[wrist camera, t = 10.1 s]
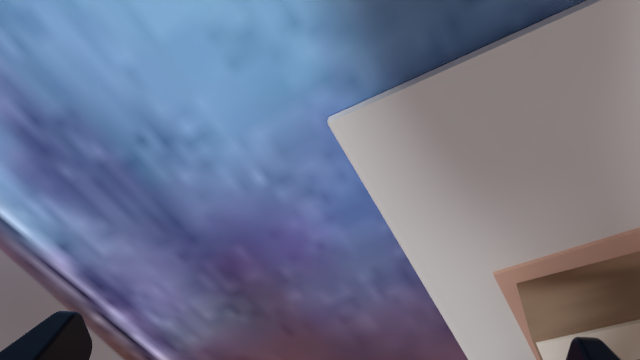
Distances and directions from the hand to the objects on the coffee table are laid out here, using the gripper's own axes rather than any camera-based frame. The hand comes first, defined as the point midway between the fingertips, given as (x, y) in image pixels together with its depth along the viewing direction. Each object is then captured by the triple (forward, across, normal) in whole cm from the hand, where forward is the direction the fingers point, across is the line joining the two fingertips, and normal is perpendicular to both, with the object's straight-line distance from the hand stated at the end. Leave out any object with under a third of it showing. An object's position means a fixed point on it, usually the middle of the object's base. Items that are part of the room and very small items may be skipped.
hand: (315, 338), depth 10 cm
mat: (+12, -10, +8) cm, 18 cm away
